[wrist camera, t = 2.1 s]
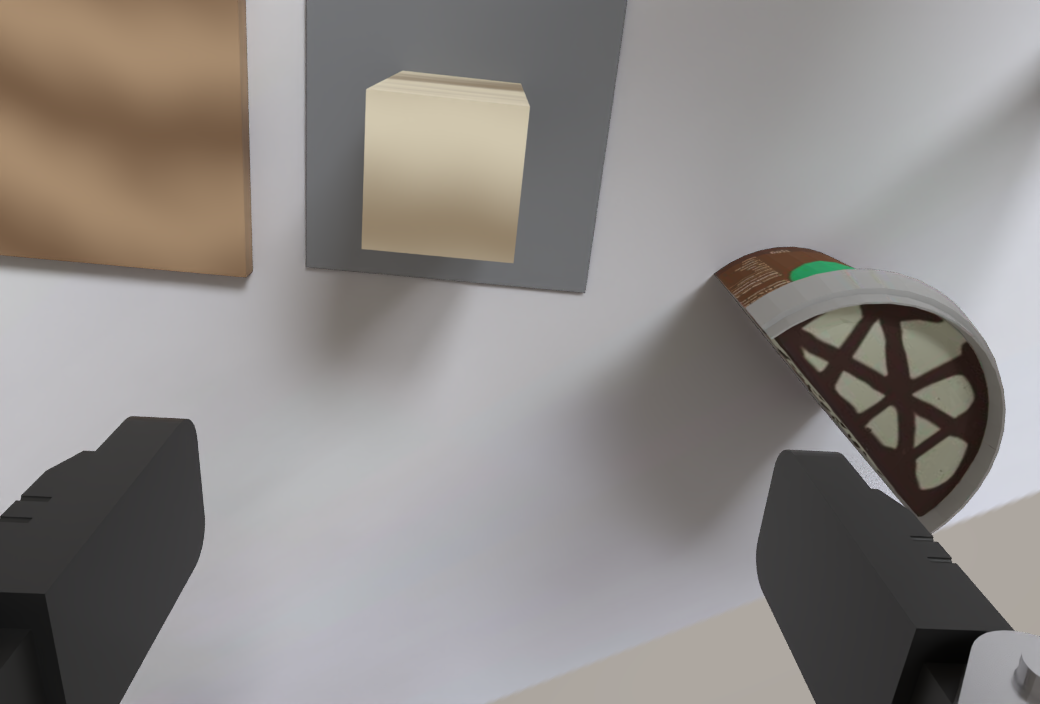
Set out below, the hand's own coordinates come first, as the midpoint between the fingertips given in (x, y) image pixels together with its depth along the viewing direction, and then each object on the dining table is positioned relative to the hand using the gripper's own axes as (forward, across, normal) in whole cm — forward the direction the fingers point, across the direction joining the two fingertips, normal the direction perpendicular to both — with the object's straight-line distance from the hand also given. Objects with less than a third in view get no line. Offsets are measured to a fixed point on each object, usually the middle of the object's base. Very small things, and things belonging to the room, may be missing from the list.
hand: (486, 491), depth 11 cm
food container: (+26, -16, +5) cm, 31 cm away
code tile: (+26, +2, -1) cm, 26 cm away
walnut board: (+26, +17, -2) cm, 31 cm away
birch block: (+26, +2, -1) cm, 26 cm away
